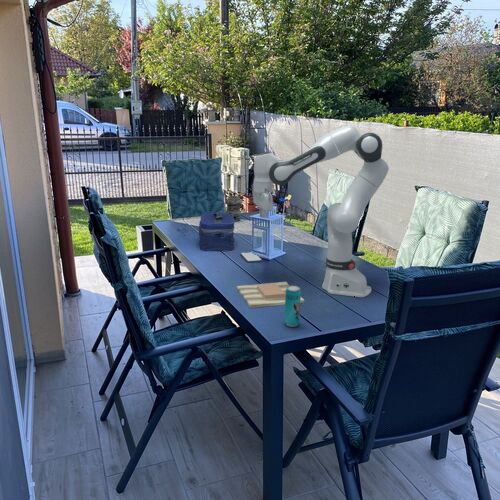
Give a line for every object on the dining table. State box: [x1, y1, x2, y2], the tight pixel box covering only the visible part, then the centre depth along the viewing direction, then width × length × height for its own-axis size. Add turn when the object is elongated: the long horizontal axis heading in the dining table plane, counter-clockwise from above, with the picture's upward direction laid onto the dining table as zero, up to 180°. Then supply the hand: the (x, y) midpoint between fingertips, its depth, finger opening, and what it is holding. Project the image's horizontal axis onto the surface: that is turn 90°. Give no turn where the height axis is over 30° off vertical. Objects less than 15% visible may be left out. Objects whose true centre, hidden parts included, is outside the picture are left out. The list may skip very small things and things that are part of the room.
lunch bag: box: [198, 212, 235, 252], centre depth 293 cm, size 31×21×20 cm
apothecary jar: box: [224, 195, 242, 223], centre depth 362 cm, size 12×12×18 cm
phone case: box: [239, 251, 263, 264], centre depth 272 cm, size 9×2×16 cm
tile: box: [257, 283, 285, 301], centre depth 215 cm, size 9×2×13 cm
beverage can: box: [284, 285, 302, 328], centre depth 186 cm, size 6×6×15 cm
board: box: [236, 281, 305, 309], centre depth 217 cm, size 24×24×1 cm
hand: (262, 216), depth 229 cm, fingers closed
